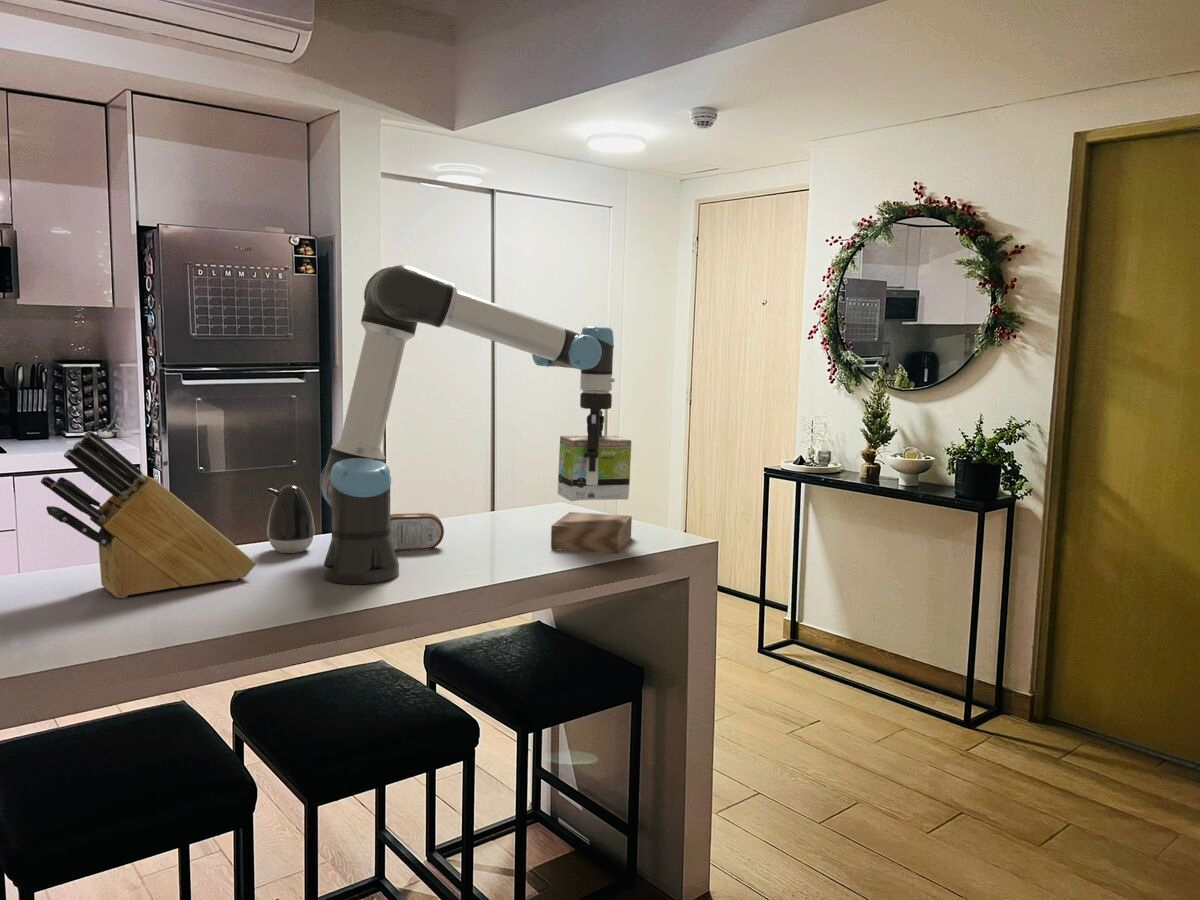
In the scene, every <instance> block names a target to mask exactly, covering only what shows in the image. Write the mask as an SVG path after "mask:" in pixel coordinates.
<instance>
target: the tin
mask: <svg viewBox="0 0 1200 900" xmlns="http://www.w3.org/2000/svg"><path fill="white" fill-rule="evenodd" d="M444 534H445V529H444V526H443V523H442V521H441V520H440V518H439V517H438V516H437V515H434V514H433V513H427V512H424V513H419V512H417V513H393V514H390V538H391V541H392V544H393V547H394V550H395V552H402V551H407V550H408V551H426V550H425V549H429V550H433V549H434V548H436V547H437V546H439V544H440V543H441V542H442V540H443V539H444V536H445V535H444ZM422 549H423V550H422Z"/></svg>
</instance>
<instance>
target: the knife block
mask: <svg viewBox="0 0 1200 900" xmlns="http://www.w3.org/2000/svg"><path fill="white" fill-rule="evenodd" d="M63 457H64V458H65V459H67V460H68V461H70V463H72V465H73V466H75V467H76V468H77V469H79V470H80V471H81V472H82V473H83V474H84V475H86V476H87V477H88V478H89V479H91V480H92V481H93V482H95V483H97V484H98V485H100V486H101V488H103V489H104V490H105V491H107V492H108V493H110V494H111V496H110V497H108V499H106V501H105V502H104V503H103V504H102V505H101V503H100V502H99V501H98V500H97V499H95V498H94V497H92V496H90V495H89V494H88V493H87V492H85V491H84V490H83V489H81V488H80V487H78V486H77V485H76V484H74V482H72V481H70V479H67V478H65V477H59V478H58V479H57V481H55V480H54V479H53V478H51V477H50V476H48V475H46V476H44V477H42V478H41V480H40V483H41V484H42V485H43V486H44V487H46V488H47V489H49V490H51V491H52V492H53V493H55V494H56V495H57V496H59V498H61V499H63V500H64V501H66V502H67V503H68V504H70V505H71V506H73V508H75V509H77V510H78V511H80V512H81V513H83V514H86V515H87V516H89V520H90V521H92V522H93V523H94V524H95V525H96V526H98V527H99V531H96V530H95V529H93V527H91V526H89V525H88V524H86V523H85V522H84V521H82V520H80V519H79V518H77V517H76V516H74V515H73V514H71V513H70V512H68V511H66V510H64V509H63V508H61V507H58V506H55V505H52V506H51V505H50V506H49V505H48V506H46V507H45V509H46V512H47V514H48V515H49V516H51V517H53V518H54V520H56V521H58V522H59V523H64V524H65V525H67V526H70V527H71V528H72V529H74V530H76V531H77V532H79V533H80V534H82V535H83V536H85V537H87V538H88V539H91V540H92V541H94V542H96V543H98V555H99V556H98V557H99V568H100V569H99V570H100V579H101V580H100V581H101V582H100V583H101V586H102V587H104V588H105V589H106V590H107V591H108V592H110V593H111V594H112V595H113V596H114V597H115V598H118V599H124V598H128V596H131V595H138V594H143V593H150V592H151V593H152V592H156V591H162V590H168V589H173V588H180V587H189V586H190V587H191V586H195V585H203V584H204V585H205V584H209V583H216V582H223V581H228V580H229V581H237V580H238V579H240V578H241V579H242V578H246V577H247V576H248V575H249V574H250V572H251V571H252V570H253V569H254V567H255V566H256V564H257V563H256V561H254V560H253V558H251V557H249V555H247V554H246V553H245V552H244V551H242V550H241V549H240V548H239V547H238V546H236V545H235V544H234V543H233V542H232V541H230V540H229V539H228V538H227V537H225V536H224V535H223V534H222V533H221V532H219V531H218V530H217V529H216V528H215V527H214V526H212V525H211V524H210V523H209V522H207V520H205V519H204V518H203V517H202V516H200V515H199V514H197V513H196V512H195V510H193V509H191V507H189V506H188V505H186V503H184V502H183V501H182V500H181V499H180V498H178V497H177V496H176V495H175V494H173V493H172V492H171V491H170V490H168V489H167V488H166V487H165V486H163V485H162V484H161V483H160V482H159V481H157V480H156V479H155V478H153V477H151V476H149V475H145V474H144V473H143V472H142V471H141V470H140V469H139V468H138V467H137V466H136V465H134V463H132V462H131V461H129V460H128V459H127V458H126V457H125V456H123V455H122V454H121V453H120V452H119V451H117V449H115V448H114V447H113V446H111V445H110V444H108V443H107V442H106V441H105V440H104V439H102V438H101V437H99V435H97V434H96V433H95V432H93V431H91V430H88V431H86V432H85V433H84V434H83V436H82V439H81V440H79V441H77V442H75V444H74V445H73V448H69V449H67V450H66V451H65V453H64V454H63ZM94 506H95V507H94ZM96 507H97V508H98V509H97V508H96Z"/></svg>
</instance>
